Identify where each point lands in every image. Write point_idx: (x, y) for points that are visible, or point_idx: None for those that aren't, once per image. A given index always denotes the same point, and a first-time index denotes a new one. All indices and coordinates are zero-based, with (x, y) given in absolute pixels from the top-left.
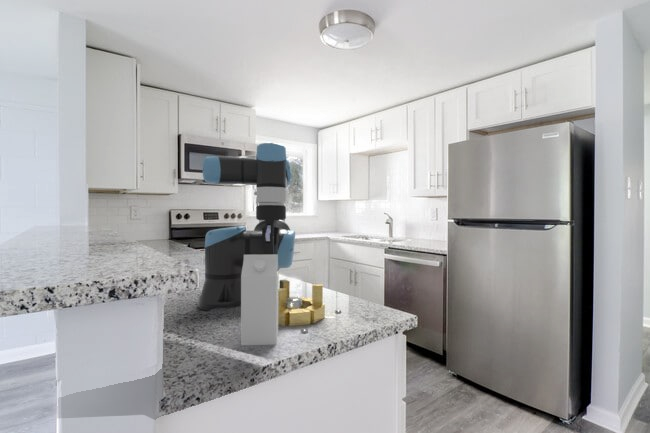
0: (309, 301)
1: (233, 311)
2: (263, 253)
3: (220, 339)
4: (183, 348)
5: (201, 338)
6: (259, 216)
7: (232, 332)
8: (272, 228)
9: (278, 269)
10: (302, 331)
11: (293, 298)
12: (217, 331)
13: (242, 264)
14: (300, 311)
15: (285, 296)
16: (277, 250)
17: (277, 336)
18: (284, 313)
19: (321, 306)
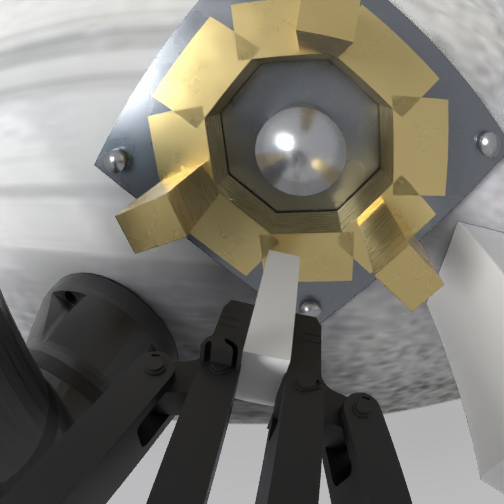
0: (253, 58)
1: (168, 323)
2: (3, 401)
3: (404, 351)
4: (417, 395)
5: (379, 380)
6: None
7: (367, 331)
8: None
9: (239, 346)
10: (497, 154)
11: (284, 154)
12: (345, 359)
13: (62, 413)
14: (434, 143)
15: (403, 231)
16: (67, 449)
17: (497, 236)
18: (434, 215)
19: (371, 20)
